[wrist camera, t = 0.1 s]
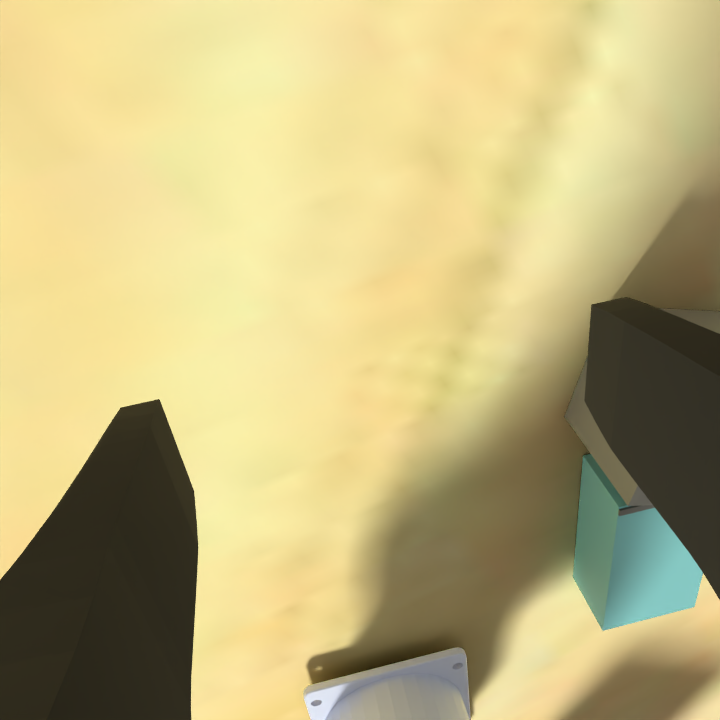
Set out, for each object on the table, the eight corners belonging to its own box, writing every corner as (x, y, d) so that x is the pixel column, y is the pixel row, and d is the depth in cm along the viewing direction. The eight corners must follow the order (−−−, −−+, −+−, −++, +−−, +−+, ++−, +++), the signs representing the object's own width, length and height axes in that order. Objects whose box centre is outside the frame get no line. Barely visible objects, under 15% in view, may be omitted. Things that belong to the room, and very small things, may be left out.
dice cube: (723, 310, 26) (821, 386, 22) (671, 416, 29) (750, 502, 24) (606, 304, 25) (686, 384, 21) (563, 415, 27) (628, 506, 23)
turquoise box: (660, 554, 34) (697, 608, 31) (572, 576, 33) (603, 632, 31) (683, 431, 29) (730, 482, 27) (582, 455, 29) (620, 509, 26)
